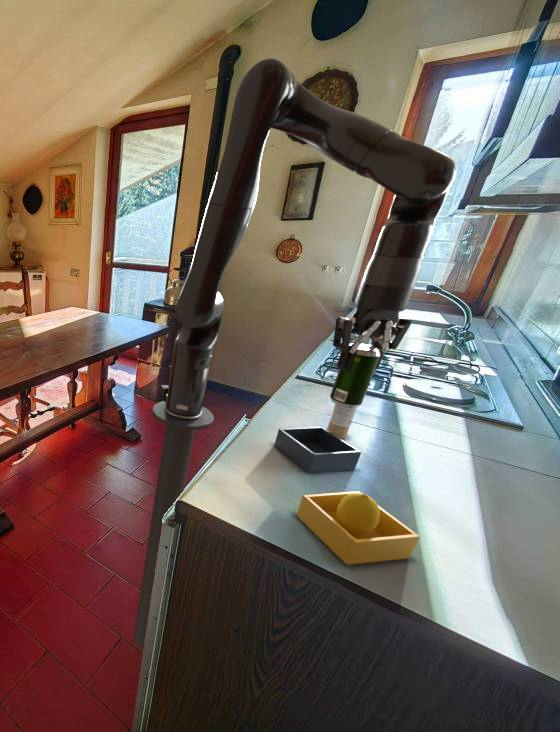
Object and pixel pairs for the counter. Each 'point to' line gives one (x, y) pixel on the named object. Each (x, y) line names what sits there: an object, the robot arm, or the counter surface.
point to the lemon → (358, 513)
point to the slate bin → (317, 449)
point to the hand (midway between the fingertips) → (356, 368)
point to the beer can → (355, 377)
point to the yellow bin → (356, 548)
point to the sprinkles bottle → (341, 420)
